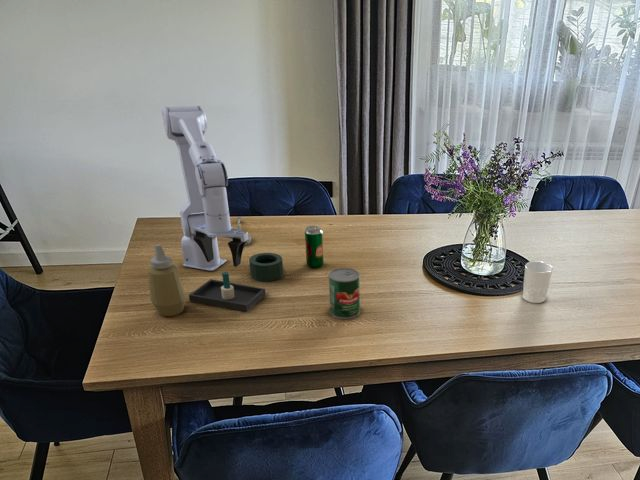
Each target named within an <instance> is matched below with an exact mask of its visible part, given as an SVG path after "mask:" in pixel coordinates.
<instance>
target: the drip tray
mask: <svg viewBox="0 0 640 480" xmlns="http://www.w3.org/2000/svg"><path fill="white" fill-rule="evenodd" d="M230 285H232V286H233V287H234V294H235V297H234V298H233V299H223V298H222V293H221V287H222V286H224V284H223V280H217V279H212V278H210V279H209V280H207V281H206V282H205V283H203V284H202V285H200V286H199V287H197V288H196V289H195V290H193V291H192V292H191V293H189V294H188V297H189V298H188V299H189V302H190V303H194V304H195V303H197V304H202V305H207V306H213V307H217V308H223V309H229V310H234V311H240V312H246V313H248V312H249V311H250V310H251V309H253V307H254V306H256V305H257V304H258V303H259V302H260V301H261V300H262V299H264V298H265V297H266V296H267V295H266V293H267V292H266V288H263V287H257V286H251V285H246V284H240V283H235V282H230Z"/></svg>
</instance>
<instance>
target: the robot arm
mask: <svg viewBox="0 0 640 480" xmlns="http://www.w3.org/2000/svg"><path fill="white" fill-rule="evenodd" d="M161 115H162V120H163V126H164V131H165V136H166V138H167V139H168V140H171V141H174V142H175V145H176V147H177V151H178V154H179V160H180V166H181V171H182V176H183V180H184V185H185V190H186V195H187V202H186V203H185V204H184V205H183V206H182V207H181V208H180V211H179V215H180V225H181V229H182V233H183V236H182V238H181V240H180V241H181V242H180V247H181V254H182V257H183V264H182V266H183V267H184V268H189V269H190V268H191V269H195V270H202V271H203V270H204V271H209V272H213V271H215V270H216V269H218V268H219V267H221V266H222V265H223V264H225V263H226V262H227V259H226V258H221V257H220V250H219V243H218V238H226V239H229V241H228V242H227V246H228V247H229V251H230V253H231V258H232V264H233V267H236V268H237V267H239V266H240V265H241V263H242V257H243V256H242V255H243V252H244V249H245V247H246V246H245V244H246V242H247V240H248V234H249V233H248V231H243V230H242V229H241V230H238V228H235V227H232V224H231V217H230V210H229V209H230V208H229V202H228V194H227V193H228V192H227V187H228V186H229V177H228V175H229V174H228V171H227V168H226V165H225V163H224V162H223V161H221V160H220V159H218V157H217V154H216V152H215V150H214V147H213V146H212V145H211V144H210V142H207V141H206V139H205V133H206V131H207V129H208V121H207V115H206V111H205V109H204V108H203V107H202V106H201V105H197V106H163V108H162V109H161ZM230 239H232V241H230Z"/></svg>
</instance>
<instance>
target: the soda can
mask: <svg viewBox="0 0 640 480" xmlns="http://www.w3.org/2000/svg"><path fill="white" fill-rule="evenodd" d="M323 238H324V236H323V230H322V228H321V226H318V225H308V226H306V227H305V230H304V243H305V244H304V245H305V260H306V262H305V263H306V266H307V267H308V268H310V269H320V268H322V267H324V262H325V261H324V240H323Z"/></svg>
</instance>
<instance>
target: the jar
mask: <svg viewBox="0 0 640 480" xmlns="http://www.w3.org/2000/svg"><path fill="white" fill-rule="evenodd" d="M248 263H249V273H250V277H251V278H252V279H253V280H255V281H258V282H267V283H268V282H274V281H275V282H276V281H278V280H280V279H281V278H283V276H284V261H283V257H282V256H281V255H280V254H277V253H274V252H260V253H256V254H252V256H250V257H249V259H248Z"/></svg>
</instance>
